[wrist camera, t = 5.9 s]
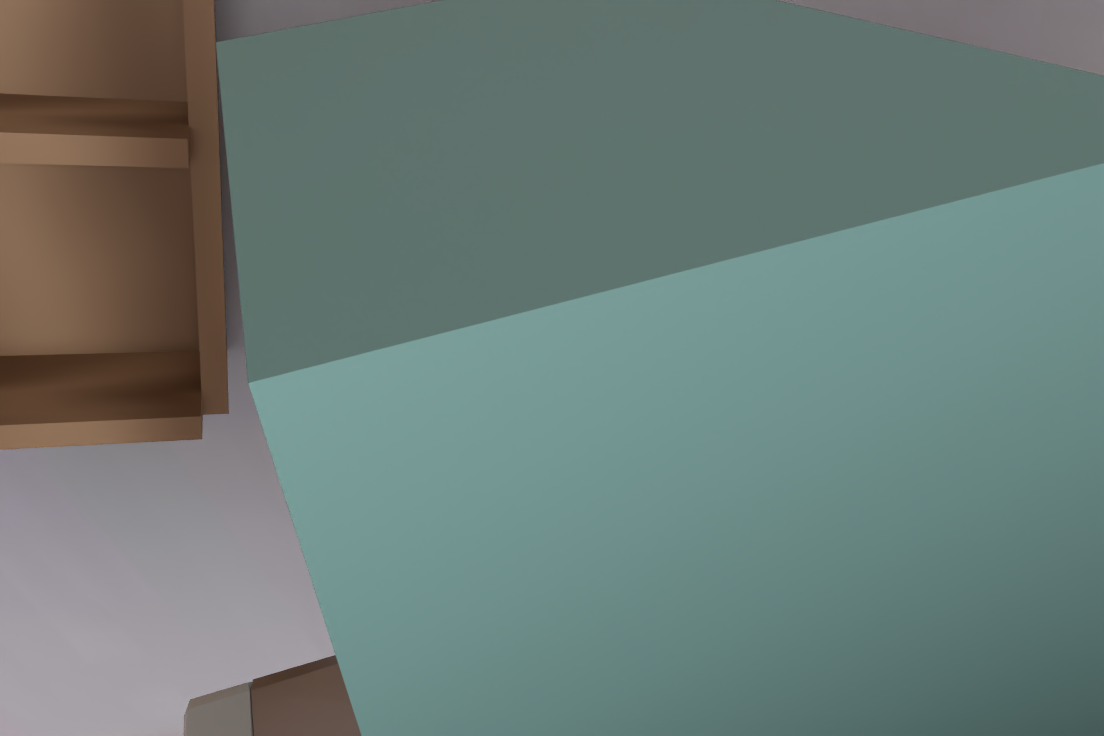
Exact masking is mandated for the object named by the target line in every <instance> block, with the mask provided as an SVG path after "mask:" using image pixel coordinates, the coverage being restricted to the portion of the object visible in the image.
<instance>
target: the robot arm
mask: <svg viewBox="0 0 1104 736" xmlns="http://www.w3.org/2000/svg"><path fill="white" fill-rule="evenodd" d="M184 736H361V733H360V729H359V726H358V723H357V720H356V717H355V714H354V711H353V708H352V705H351V701H350V698H349V695H348V692H347V689H346V686H345V683H344V680H343V677H342V673H341V670H340V667H339V664H338V661H337V658H336V655H334V656H331V657H328V658H324V659H321V660H317V661H314V662H311V663H307V664H304V665H301V666H297V667H294V668H291V669H287V670H284V671H280V672H277V673H274V674H270V675H267V676H264V677H260V678H257V679H254V680H253V682H249V683H244V684H241V685H238V686H234V687H231V688H228V689H224V690H221V691H217V692H214V693H211V694H207V695H204V696H201V697H197V698H194V699H190V701H189V704H188V707H187V709H186V712H185V714H184Z"/></svg>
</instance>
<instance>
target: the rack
mask: <svg viewBox="0 0 1104 736" xmlns="http://www.w3.org/2000/svg"><path fill="white" fill-rule="evenodd" d="M228 413H229V411H228V375H227V342H226V314H225V286H224V258H223V230H222V202H221V174H220V146H219V118H218V90H217V62H216V34H215V6H214V0H0V449H20V448H39V447H58V446H78V445H97V444H117V443H136V442H156V441H175V440H195V439H202V420H203V415H206V414H228Z"/></svg>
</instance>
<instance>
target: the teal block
mask: <svg viewBox="0 0 1104 736" xmlns="http://www.w3.org/2000/svg"><path fill="white" fill-rule="evenodd" d="M216 50H217V61H218V71H219V82H220V92H221V103H222V113H223V124H224V134H225V145H226V156H227V166H228V177H229V187H230V198H231V208H232V219H233V229H234V240H235V250H236V261H237V271H238V282H239V293H240V303H241V314H242V324H243V335H244V345H245V356H246V366H247V377H248V384H249V388H250V391H251V394H252V397H253V400H254V403H255V406H256V409H257V412H258V415H259V419H260V422H261V425H262V428H263V431H264V434H265V437H266V440H267V443H268V447H269V450H270V453H271V456H272V459H273V462H274V465H275V468H276V471H277V475H278V478H279V481H280V484H281V487H282V490H283V493H284V496H285V499H286V503H287V506H288V509H289V512H290V515H291V518H292V521H293V524H294V527H295V530H296V534H297V537H298V540H299V543H300V546H301V549H302V552H303V555H304V558H305V562H306V565H307V568H308V571H309V574H310V577H311V580H312V583H313V586H314V590H315V593H316V596H317V599H318V602H319V605H320V608H321V611H322V614H323V618H324V621H325V624H326V627H327V630H328V633H329V636H330V639H331V642H332V645H333V649H334V652H335V655H336V658H337V661H338V664H339V667H340V670H341V673H342V677H343V680H344V683H345V686H346V689H347V692H348V695H349V698H350V701H351V705H352V708H353V711H354V714H355V717H356V720H357V723H358V726H359V729H360V733H361V736H1104V76H1102V75H1098V74H1094V73H1089V72H1085V71H1081V70H1076V69H1072V68H1068V67H1063V66H1059V65H1055V64H1050V63H1046V62H1042V61H1037V60H1033V59H1029V58H1024V57H1020V56H1016V55H1011V54H1007V53H1003V52H998V51H994V50H990V49H985V48H981V47H977V46H972V45H968V44H964V43H959V42H955V41H951V40H946V39H942V38H938V37H933V36H929V35H925V34H920V33H916V32H912V31H907V30H903V29H899V28H894V27H890V26H886V25H881V24H877V23H873V22H868V21H864V20H860V19H855V18H851V17H847V16H842V15H838V14H834V13H829V12H825V11H821V10H816V9H812V8H808V7H803V6H799V5H795V4H790V3H786V2H782V1H777V0H440V1H434V2H429V3H424V4H418V5H413V6H408V7H402V8H397V9H391V10H386V11H381V12H375V13H370V14H365V15H359V16H354V17H349V18H343V19H338V20H332V21H327V22H322V23H316V24H311V25H306V26H300V27H295V28H289V29H284V30H279V31H273V32H268V33H263V34H257V35H252V36H246V37H241V38H236V39H230V40H225V41H220V42H216Z"/></svg>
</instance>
